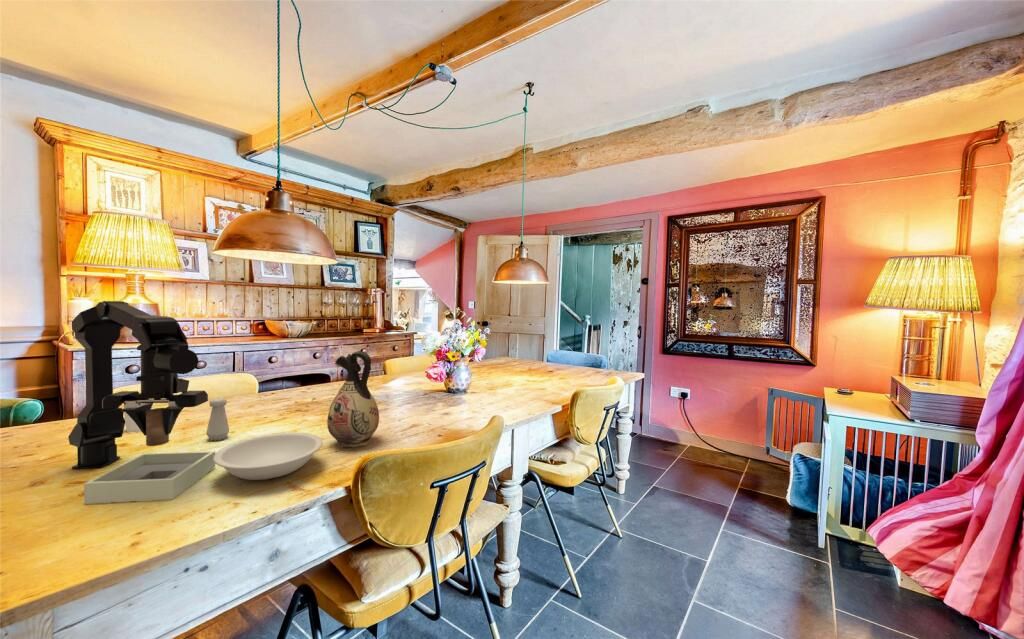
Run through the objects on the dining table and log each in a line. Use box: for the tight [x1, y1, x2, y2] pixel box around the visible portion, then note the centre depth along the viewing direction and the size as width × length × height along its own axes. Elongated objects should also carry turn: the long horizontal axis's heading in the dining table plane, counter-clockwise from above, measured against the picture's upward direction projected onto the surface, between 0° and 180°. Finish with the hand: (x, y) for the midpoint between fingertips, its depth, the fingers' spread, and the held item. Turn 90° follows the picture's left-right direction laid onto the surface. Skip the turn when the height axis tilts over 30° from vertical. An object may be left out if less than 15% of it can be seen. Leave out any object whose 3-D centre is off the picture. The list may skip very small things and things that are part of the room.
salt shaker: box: [205, 397, 230, 442], centre depth 122 cm, size 6×6×13 cm
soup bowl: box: [213, 432, 323, 481], centre depth 101 cm, size 24×24×7 cm
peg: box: [145, 407, 170, 447], centre depth 92 cm, size 4×4×8 cm
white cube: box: [123, 406, 153, 433], centre depth 128 cm, size 7×7×7 cm
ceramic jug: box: [326, 350, 380, 448], centre depth 122 cm, size 17×15×30 cm
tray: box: [83, 450, 216, 505], centre depth 92 cm, size 17×17×4 cm
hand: (157, 434), depth 92 cm, fingers closed on peg, 4 cm apart
